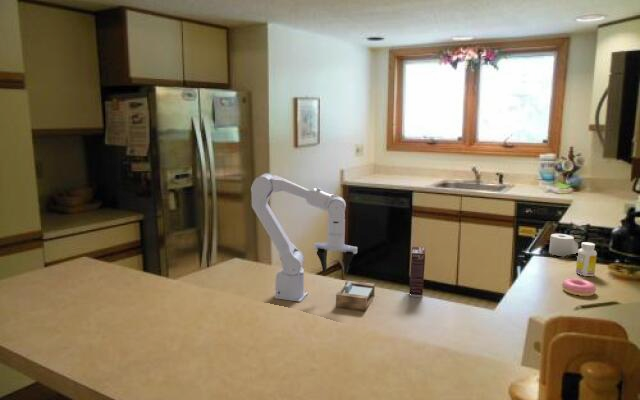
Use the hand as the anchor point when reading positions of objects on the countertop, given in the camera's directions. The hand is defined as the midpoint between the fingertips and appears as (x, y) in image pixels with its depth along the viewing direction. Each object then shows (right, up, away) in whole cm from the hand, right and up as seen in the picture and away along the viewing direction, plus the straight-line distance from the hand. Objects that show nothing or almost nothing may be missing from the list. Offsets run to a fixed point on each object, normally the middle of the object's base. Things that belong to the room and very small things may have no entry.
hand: (335, 271), depth 165 cm
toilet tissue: (+106, -1, +56) cm, 120 cm away
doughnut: (+89, -9, +11) cm, 90 cm away
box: (+7, -10, 0) cm, 12 cm away
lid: (+7, -7, -1) cm, 10 cm away
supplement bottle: (+101, -6, +30) cm, 106 cm away
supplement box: (+29, -9, +8) cm, 32 cm away
